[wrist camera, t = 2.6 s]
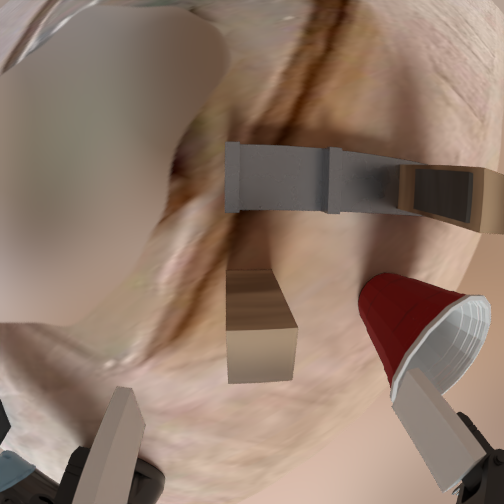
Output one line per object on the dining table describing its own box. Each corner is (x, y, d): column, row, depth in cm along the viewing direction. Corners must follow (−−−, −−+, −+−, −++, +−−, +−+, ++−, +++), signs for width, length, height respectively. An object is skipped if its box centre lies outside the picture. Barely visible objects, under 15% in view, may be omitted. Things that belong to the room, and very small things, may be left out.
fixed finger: (393, 208, 22) (475, 232, 12) (395, 163, 21) (480, 166, 11) (428, 211, 22) (507, 234, 13) (431, 170, 21) (511, 178, 12)
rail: (225, 207, 23) (225, 212, 19) (225, 147, 21) (225, 141, 18) (423, 214, 24) (445, 220, 21) (426, 166, 23) (448, 167, 20)
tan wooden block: (226, 270, 24) (225, 330, 15) (271, 269, 24) (298, 327, 15) (227, 315, 25) (228, 389, 16) (269, 314, 26) (291, 385, 16)
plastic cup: (371, 356, 29) (421, 426, 17) (314, 309, 26) (365, 392, 14) (433, 289, 27) (502, 337, 15) (389, 227, 24) (478, 264, 13)
